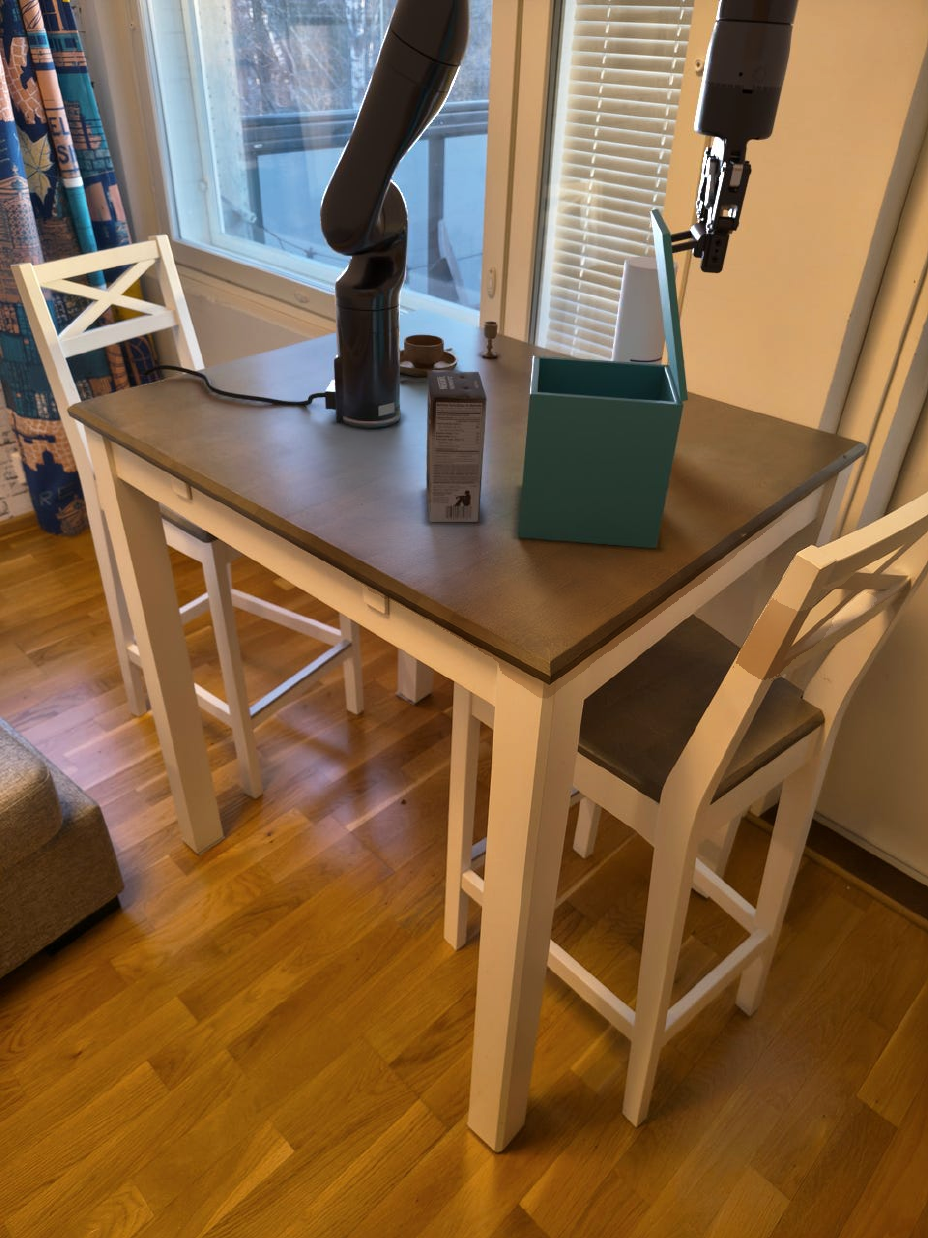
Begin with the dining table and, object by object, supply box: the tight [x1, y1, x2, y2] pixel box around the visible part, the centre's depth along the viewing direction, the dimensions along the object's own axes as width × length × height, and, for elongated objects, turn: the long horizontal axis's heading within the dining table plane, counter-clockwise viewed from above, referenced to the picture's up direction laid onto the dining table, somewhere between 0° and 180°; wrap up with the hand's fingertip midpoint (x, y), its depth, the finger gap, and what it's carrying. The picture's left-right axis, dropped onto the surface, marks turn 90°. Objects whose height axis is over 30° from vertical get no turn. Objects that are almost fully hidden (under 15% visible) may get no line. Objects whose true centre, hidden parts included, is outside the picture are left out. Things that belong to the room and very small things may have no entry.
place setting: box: [400, 320, 499, 382], centre depth 155 cm, size 18×20×6 cm
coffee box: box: [425, 370, 488, 523], centre depth 108 cm, size 9×6×16 cm
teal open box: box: [517, 355, 684, 549], centre depth 107 cm, size 17×14×18 cm
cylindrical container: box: [610, 256, 679, 364], centre depth 127 cm, size 7×7×25 cm
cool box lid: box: [650, 208, 707, 402], centre depth 96 cm, size 17×14×5 cm
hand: (706, 263), depth 94 cm, fingers closed on cool box lid, 6 cm apart
